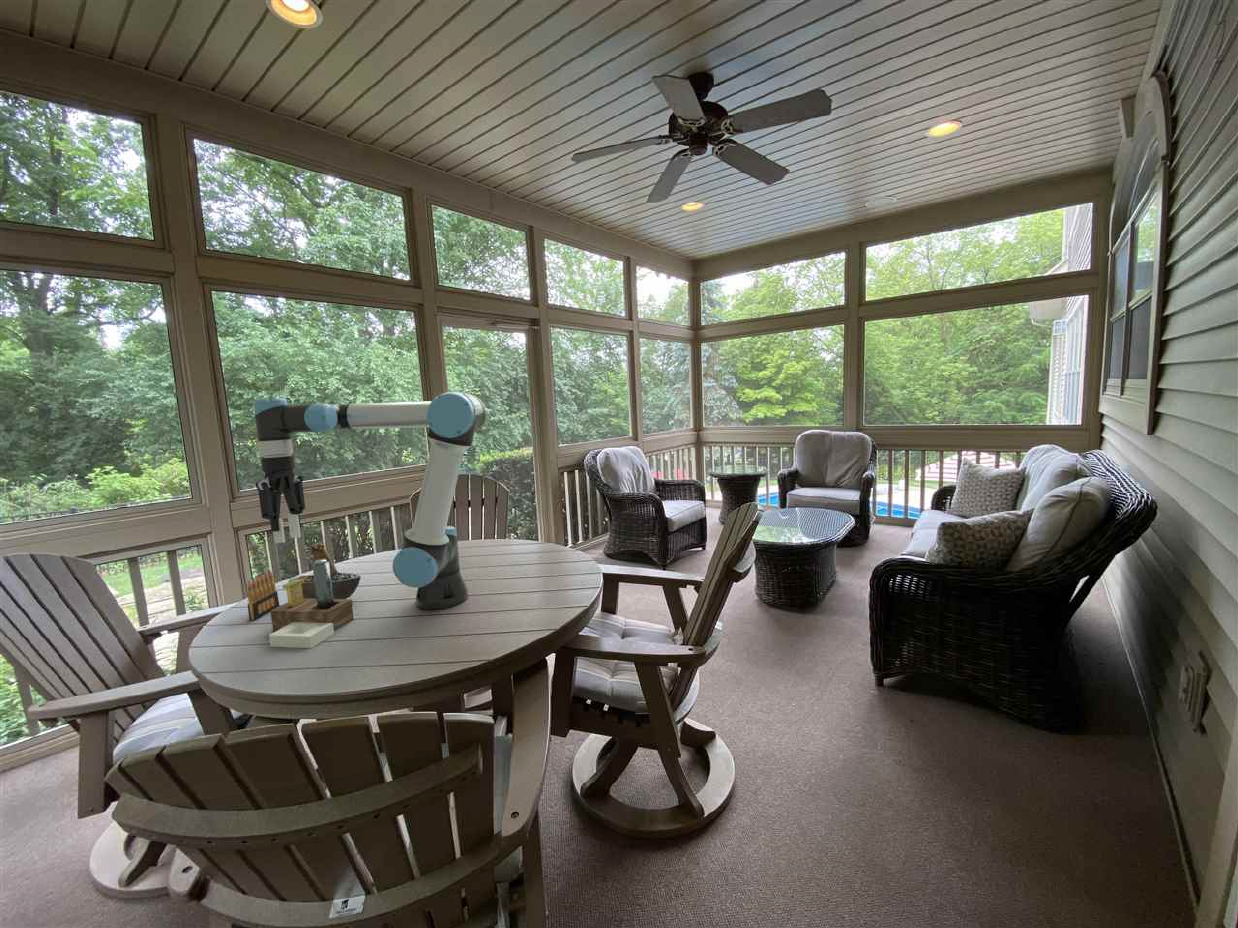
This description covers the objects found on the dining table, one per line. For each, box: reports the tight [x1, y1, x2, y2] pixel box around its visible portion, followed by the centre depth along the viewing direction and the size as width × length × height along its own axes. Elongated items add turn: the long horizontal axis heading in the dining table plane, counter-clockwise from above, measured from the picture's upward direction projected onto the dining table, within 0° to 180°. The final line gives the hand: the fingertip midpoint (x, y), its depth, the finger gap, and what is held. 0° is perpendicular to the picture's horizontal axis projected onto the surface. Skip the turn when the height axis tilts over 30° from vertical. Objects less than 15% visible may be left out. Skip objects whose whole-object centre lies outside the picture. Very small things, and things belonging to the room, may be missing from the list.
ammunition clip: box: [247, 569, 280, 622], centre depth 153 cm, size 11×2×12 cm, turn 0°
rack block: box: [268, 622, 335, 649], centre depth 133 cm, size 12×8×3 cm, turn 80°
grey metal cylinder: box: [312, 559, 334, 609], centre depth 140 cm, size 4×4×17 cm
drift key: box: [282, 579, 305, 608], centre depth 142 cm, size 2×5×10 cm, turn 170°
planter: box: [288, 541, 362, 599], centre depth 157 cm, size 15×17×20 cm
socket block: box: [269, 598, 355, 633], centre depth 142 cm, size 18×9×6 cm, turn 80°
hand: (287, 539), depth 140 cm, fingers open, 5 cm apart
